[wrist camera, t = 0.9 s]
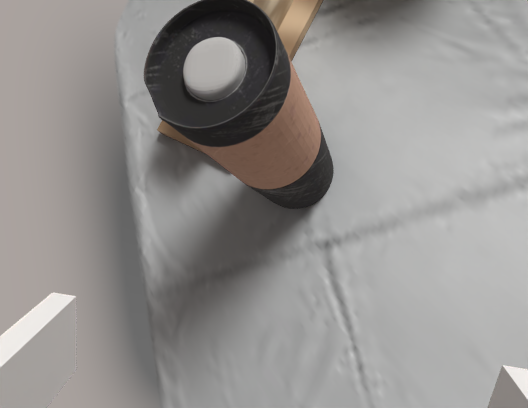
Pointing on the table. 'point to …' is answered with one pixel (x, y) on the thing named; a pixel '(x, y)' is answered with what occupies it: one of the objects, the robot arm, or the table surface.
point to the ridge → (288, 27)
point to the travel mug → (240, 99)
